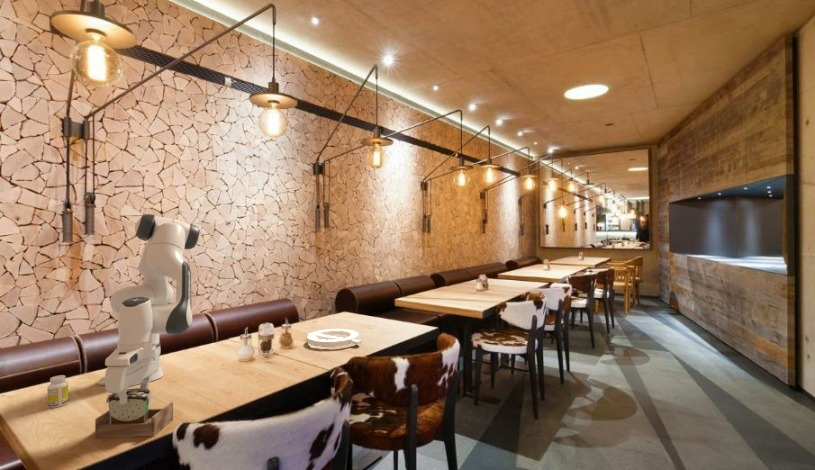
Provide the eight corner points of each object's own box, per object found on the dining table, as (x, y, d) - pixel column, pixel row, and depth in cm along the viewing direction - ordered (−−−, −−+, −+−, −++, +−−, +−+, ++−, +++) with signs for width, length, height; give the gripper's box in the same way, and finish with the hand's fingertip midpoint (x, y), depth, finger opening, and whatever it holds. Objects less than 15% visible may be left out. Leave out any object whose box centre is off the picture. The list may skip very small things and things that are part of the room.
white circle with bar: (306, 339, 226) (306, 330, 226) (354, 335, 234) (354, 327, 234) (308, 352, 199) (308, 343, 199) (362, 348, 207) (362, 339, 207)
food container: (160, 418, 123) (160, 386, 123) (149, 428, 117) (149, 394, 117) (119, 419, 122) (119, 387, 122) (105, 429, 116) (106, 395, 116)
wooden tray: (154, 436, 115) (154, 417, 115) (95, 438, 114) (95, 418, 114) (173, 419, 125) (173, 402, 125) (119, 421, 124) (119, 403, 124)
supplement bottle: (66, 400, 140) (66, 373, 140) (69, 404, 137) (69, 376, 137) (46, 405, 136) (46, 377, 136) (48, 409, 133) (49, 381, 133)
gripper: (145, 342, 130) (145, 383, 130) (100, 361, 109) (100, 411, 109) (165, 342, 130) (164, 383, 130) (123, 361, 110) (123, 410, 110)
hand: (134, 396), depth 120 cm, fingers open, 8 cm apart
